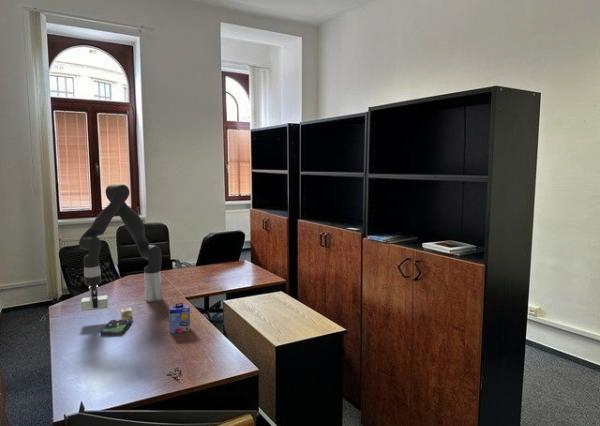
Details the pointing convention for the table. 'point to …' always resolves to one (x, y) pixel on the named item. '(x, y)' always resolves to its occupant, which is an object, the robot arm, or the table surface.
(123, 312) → the maple block
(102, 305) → the sage plank
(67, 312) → the table surface
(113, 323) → the disk drive
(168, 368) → the table surface
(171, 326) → the ink cartridge box
